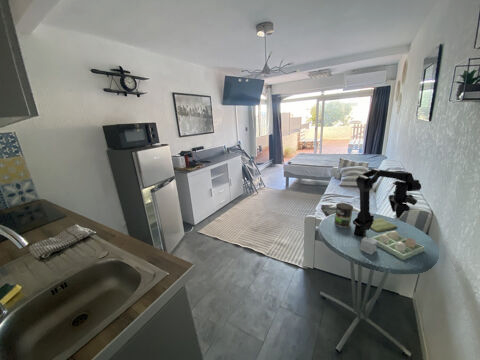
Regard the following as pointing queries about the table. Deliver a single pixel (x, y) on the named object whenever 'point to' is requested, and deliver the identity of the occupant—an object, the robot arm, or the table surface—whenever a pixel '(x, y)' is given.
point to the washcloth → (382, 225)
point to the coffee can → (343, 215)
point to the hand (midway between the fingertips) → (395, 214)
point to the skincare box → (368, 245)
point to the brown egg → (410, 243)
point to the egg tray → (391, 249)
